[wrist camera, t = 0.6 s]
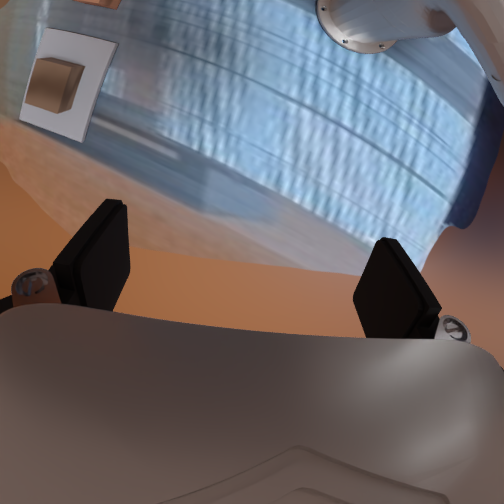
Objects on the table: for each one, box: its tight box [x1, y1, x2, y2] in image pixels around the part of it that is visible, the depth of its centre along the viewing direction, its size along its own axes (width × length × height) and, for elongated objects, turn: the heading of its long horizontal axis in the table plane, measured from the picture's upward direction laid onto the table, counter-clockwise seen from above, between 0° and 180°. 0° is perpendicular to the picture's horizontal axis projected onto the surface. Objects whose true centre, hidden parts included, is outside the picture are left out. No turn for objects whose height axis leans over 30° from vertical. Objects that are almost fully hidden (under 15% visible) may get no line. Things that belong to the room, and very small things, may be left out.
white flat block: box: [19, 28, 118, 142], centre depth 32 cm, size 16×14×5 cm
